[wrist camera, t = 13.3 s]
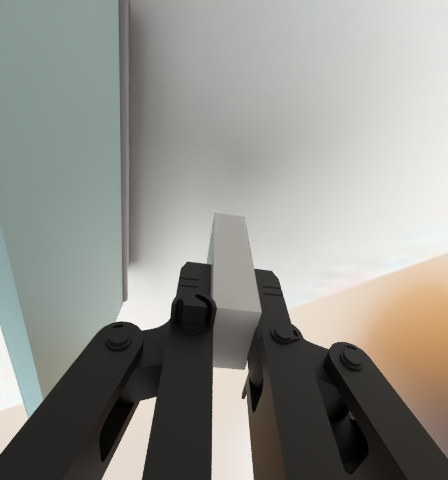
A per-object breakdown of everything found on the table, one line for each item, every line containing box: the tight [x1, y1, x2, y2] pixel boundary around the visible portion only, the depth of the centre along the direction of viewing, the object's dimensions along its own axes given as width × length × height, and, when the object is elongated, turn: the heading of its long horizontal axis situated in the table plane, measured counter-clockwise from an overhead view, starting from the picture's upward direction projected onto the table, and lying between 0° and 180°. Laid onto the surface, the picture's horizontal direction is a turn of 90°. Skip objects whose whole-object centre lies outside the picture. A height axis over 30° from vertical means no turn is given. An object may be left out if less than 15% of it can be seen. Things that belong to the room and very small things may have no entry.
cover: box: [0, 0, 127, 419], centre depth 15 cm, size 20×12×1 cm
